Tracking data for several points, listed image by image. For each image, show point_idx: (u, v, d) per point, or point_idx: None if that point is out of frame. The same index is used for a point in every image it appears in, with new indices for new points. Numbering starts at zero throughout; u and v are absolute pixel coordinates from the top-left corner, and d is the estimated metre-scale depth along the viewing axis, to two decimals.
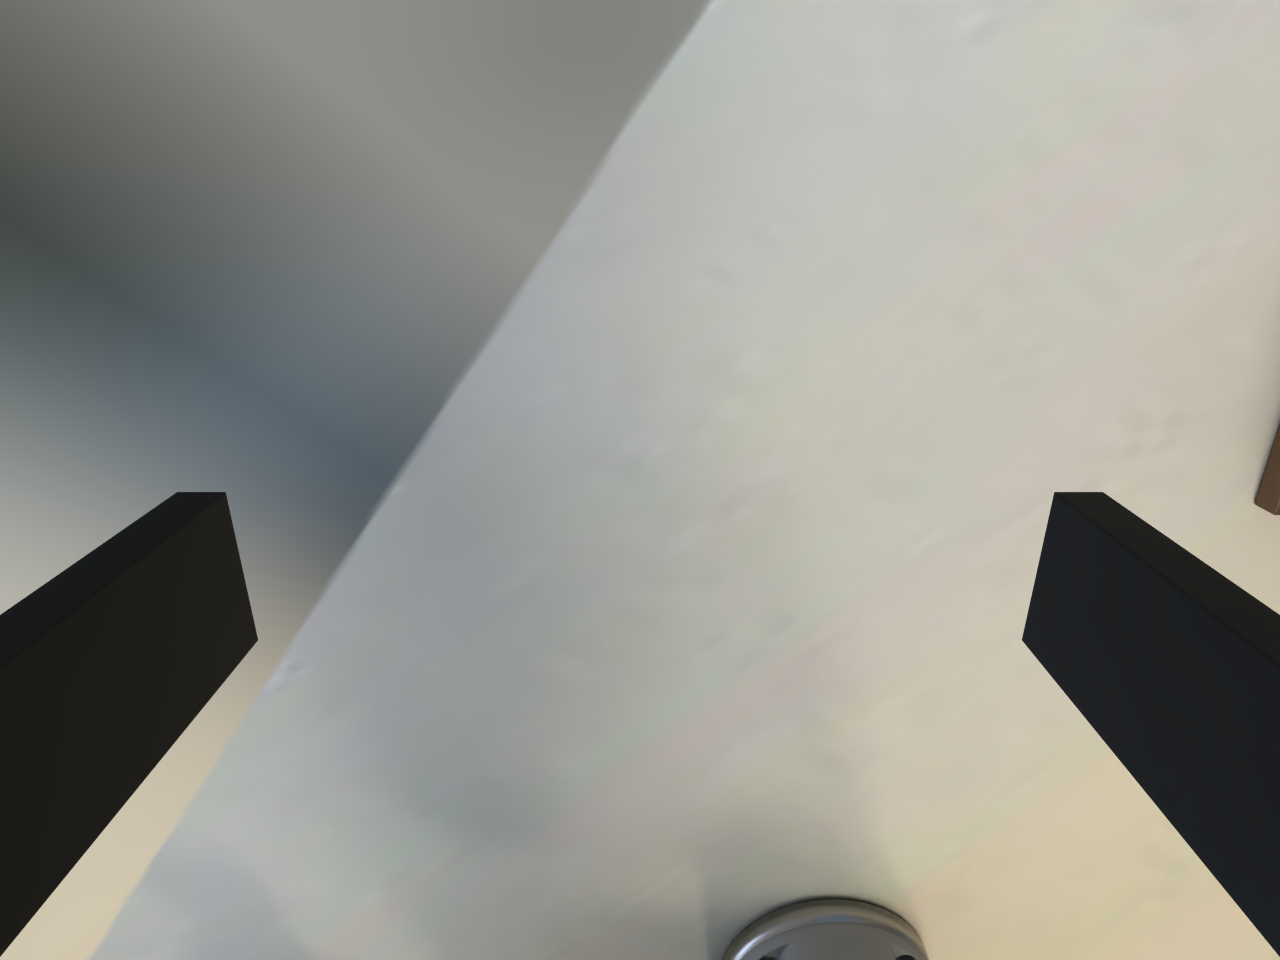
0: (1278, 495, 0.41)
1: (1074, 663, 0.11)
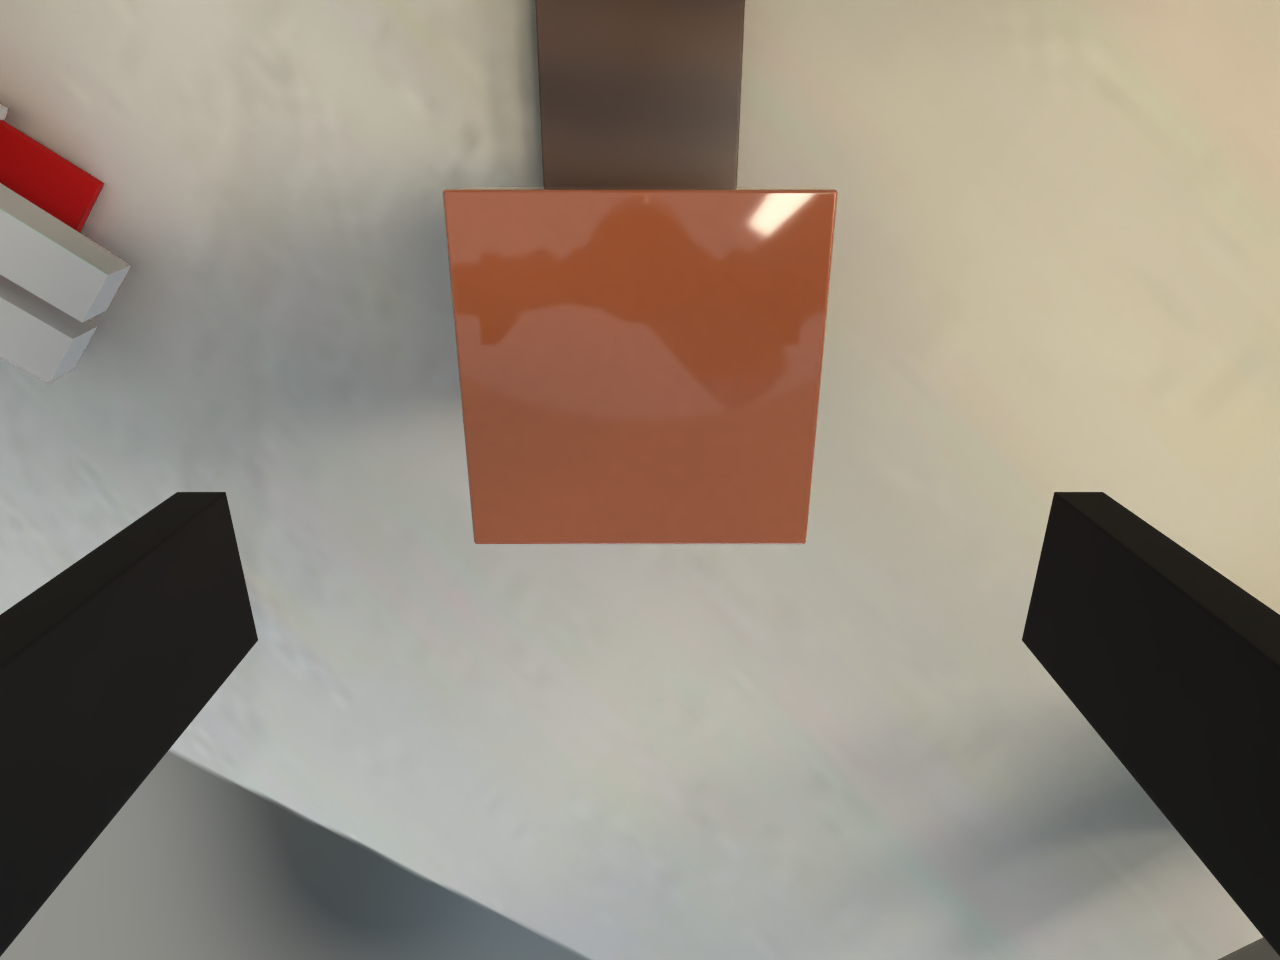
0: None
1: (1074, 663, 0.11)
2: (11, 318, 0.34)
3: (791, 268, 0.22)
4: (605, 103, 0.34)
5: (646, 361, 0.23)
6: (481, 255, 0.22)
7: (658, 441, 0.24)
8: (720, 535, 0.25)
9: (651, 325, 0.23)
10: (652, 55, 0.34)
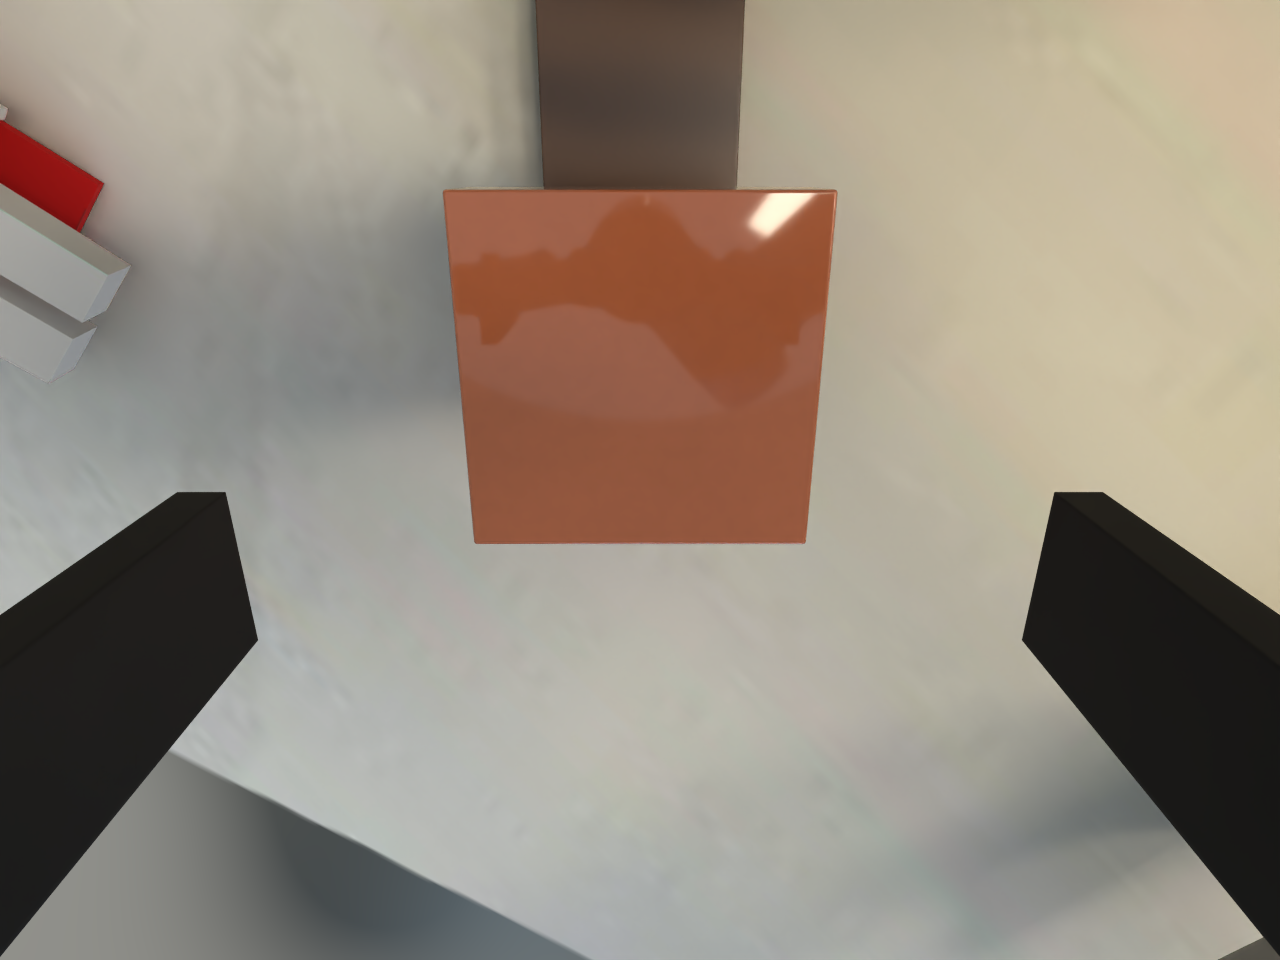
0: None
1: (1074, 663, 0.11)
2: (11, 318, 0.34)
3: (791, 268, 0.22)
4: (605, 103, 0.34)
5: (646, 361, 0.23)
6: (480, 255, 0.22)
7: (658, 441, 0.24)
8: (719, 535, 0.25)
9: (651, 325, 0.23)
10: (652, 55, 0.34)
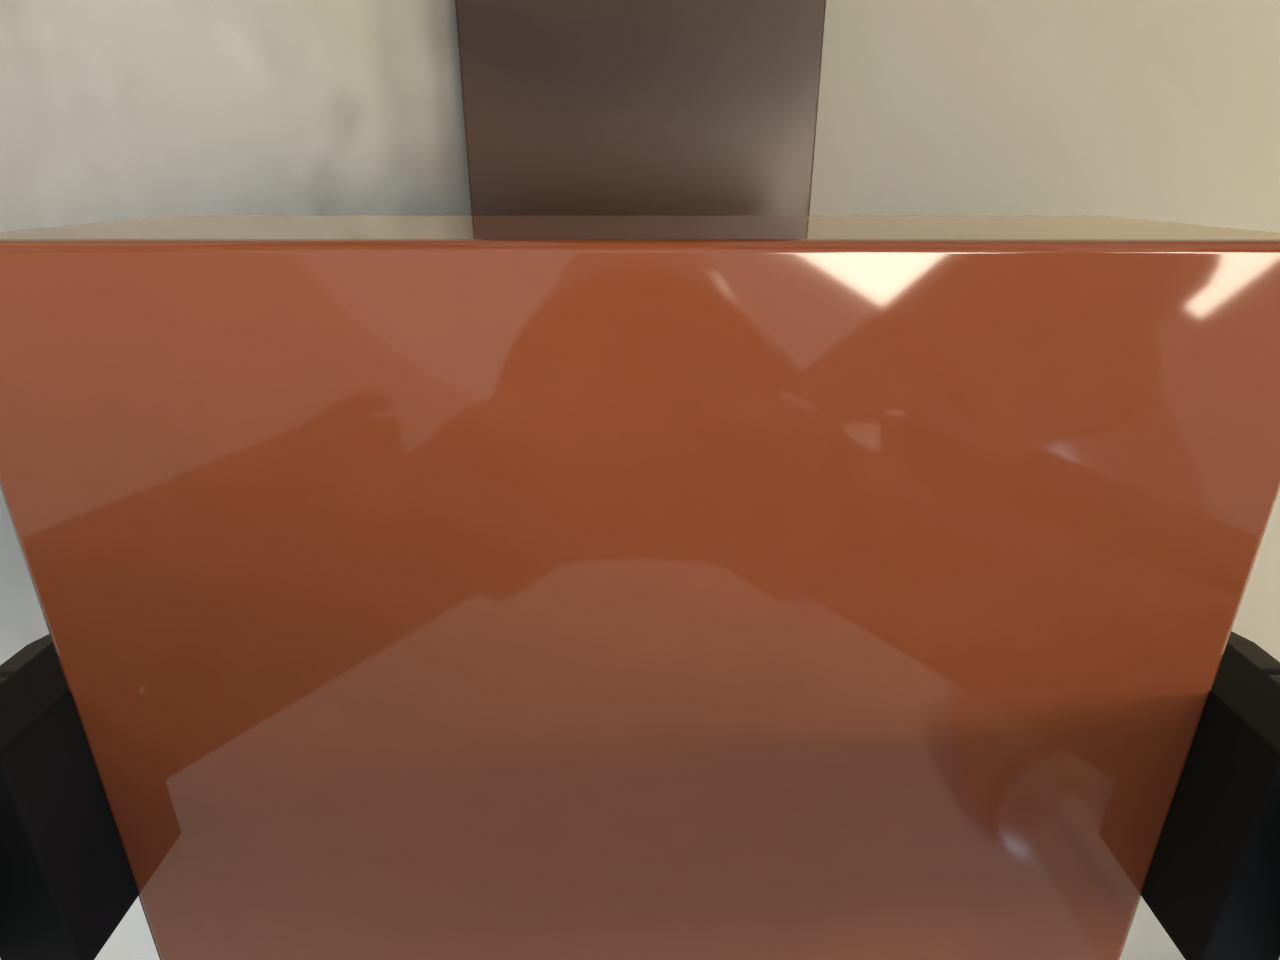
0: None
1: None
2: None
3: (1148, 500, 0.07)
4: (577, 49, 0.19)
5: (658, 749, 0.08)
6: (99, 459, 0.06)
7: (692, 931, 0.09)
8: None
9: (676, 659, 0.07)
10: None
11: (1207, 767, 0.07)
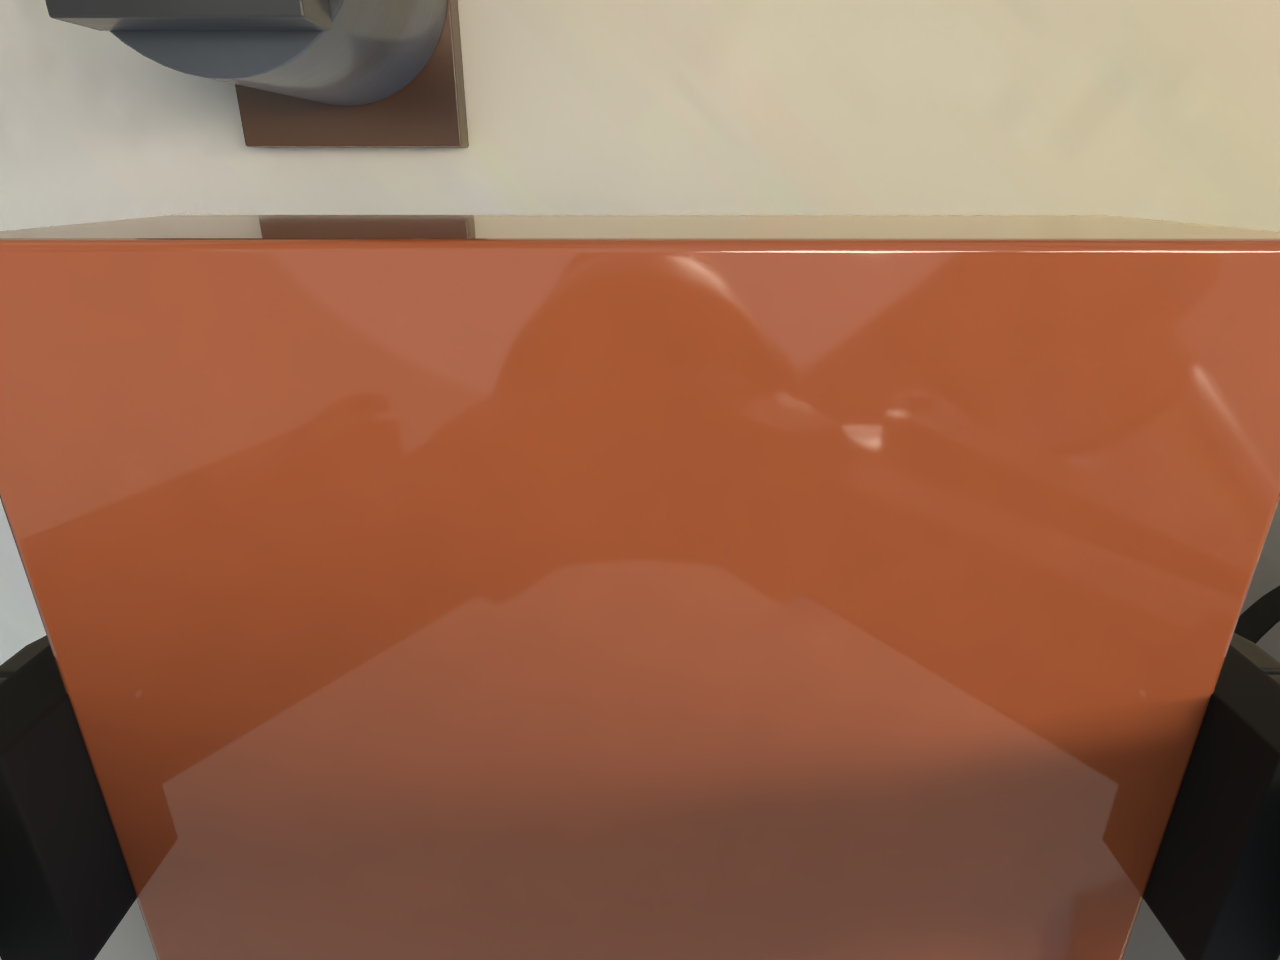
0: (435, 146, 0.32)
1: None
2: None
3: (1151, 502, 0.07)
4: None
5: (658, 752, 0.08)
6: (96, 460, 0.06)
7: (691, 933, 0.08)
8: None
9: (677, 659, 0.07)
10: None
11: (1207, 767, 0.07)
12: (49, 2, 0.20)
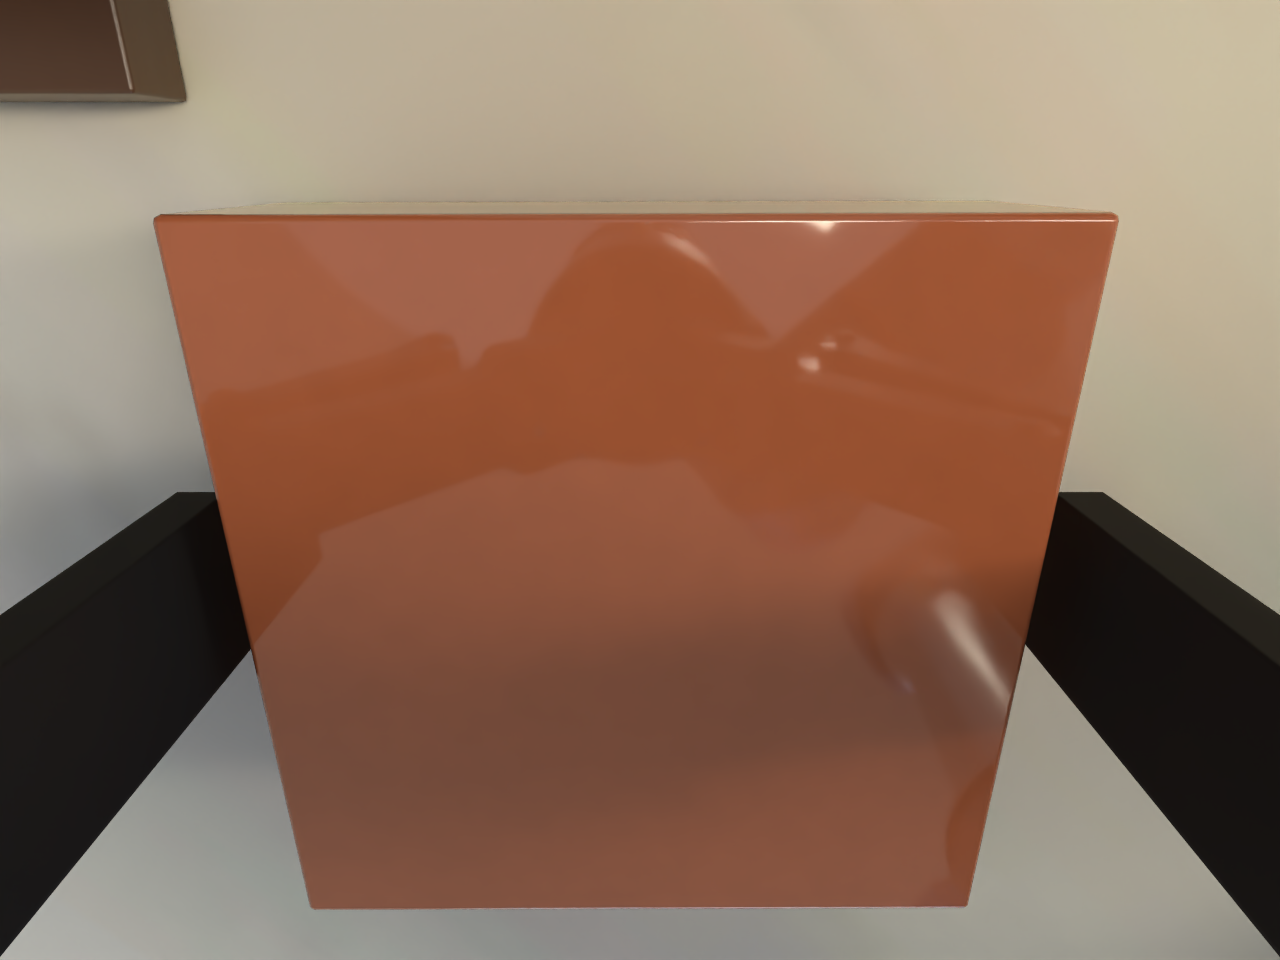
0: (65, 95, 0.12)
1: (1074, 663, 0.11)
2: None
3: (990, 396, 0.09)
4: None
5: (651, 588, 0.10)
6: (261, 368, 0.09)
7: (677, 736, 0.11)
8: (798, 895, 0.13)
9: (663, 516, 0.10)
10: None
11: None
12: None
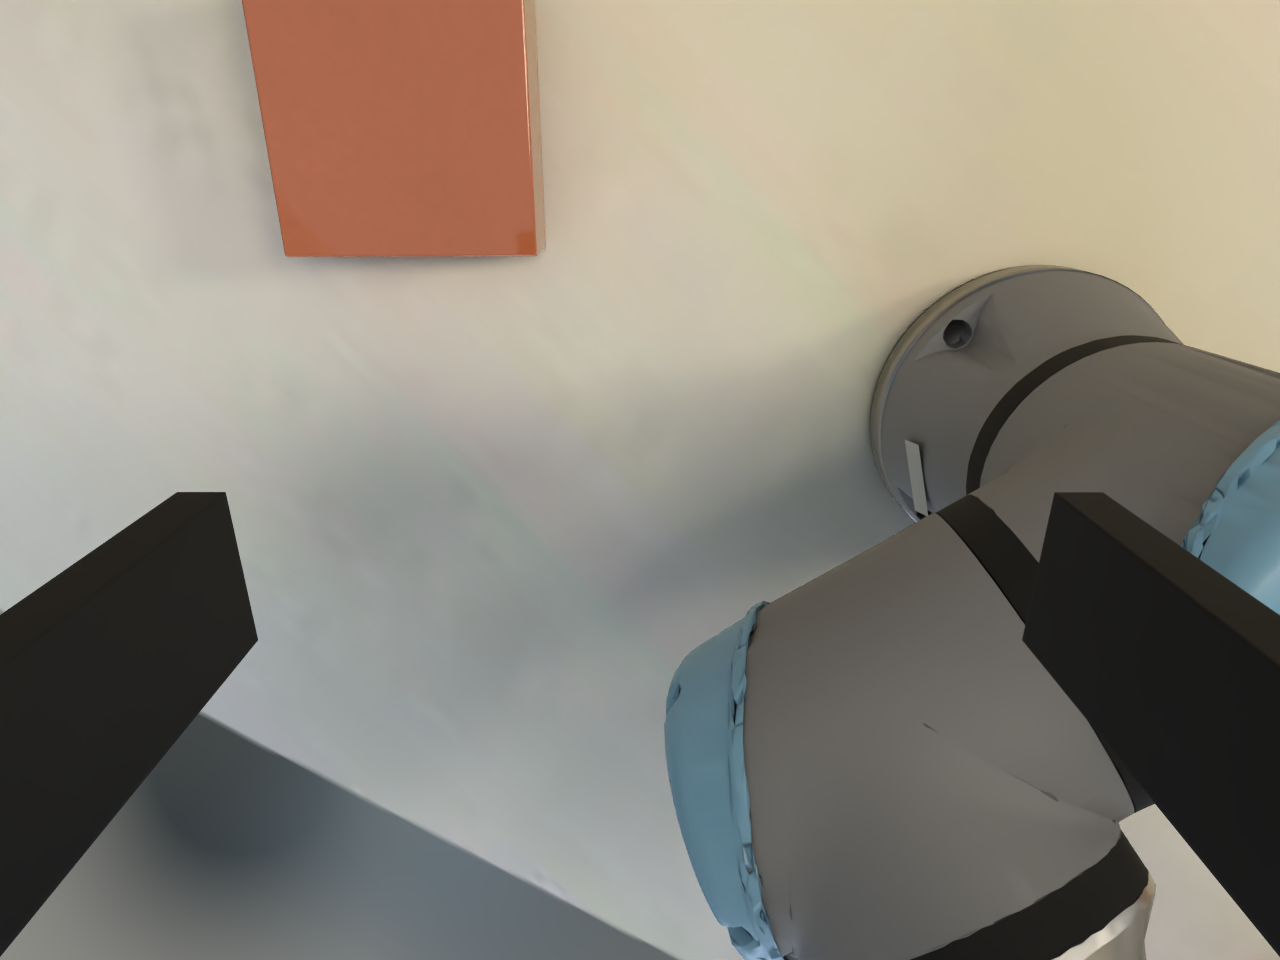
0: None
1: (1074, 663, 0.11)
2: None
3: (496, 22, 0.30)
4: None
5: (397, 99, 0.31)
6: (267, 12, 0.30)
7: (414, 166, 0.32)
8: (470, 248, 0.33)
9: (398, 68, 0.31)
10: None
11: None
12: None
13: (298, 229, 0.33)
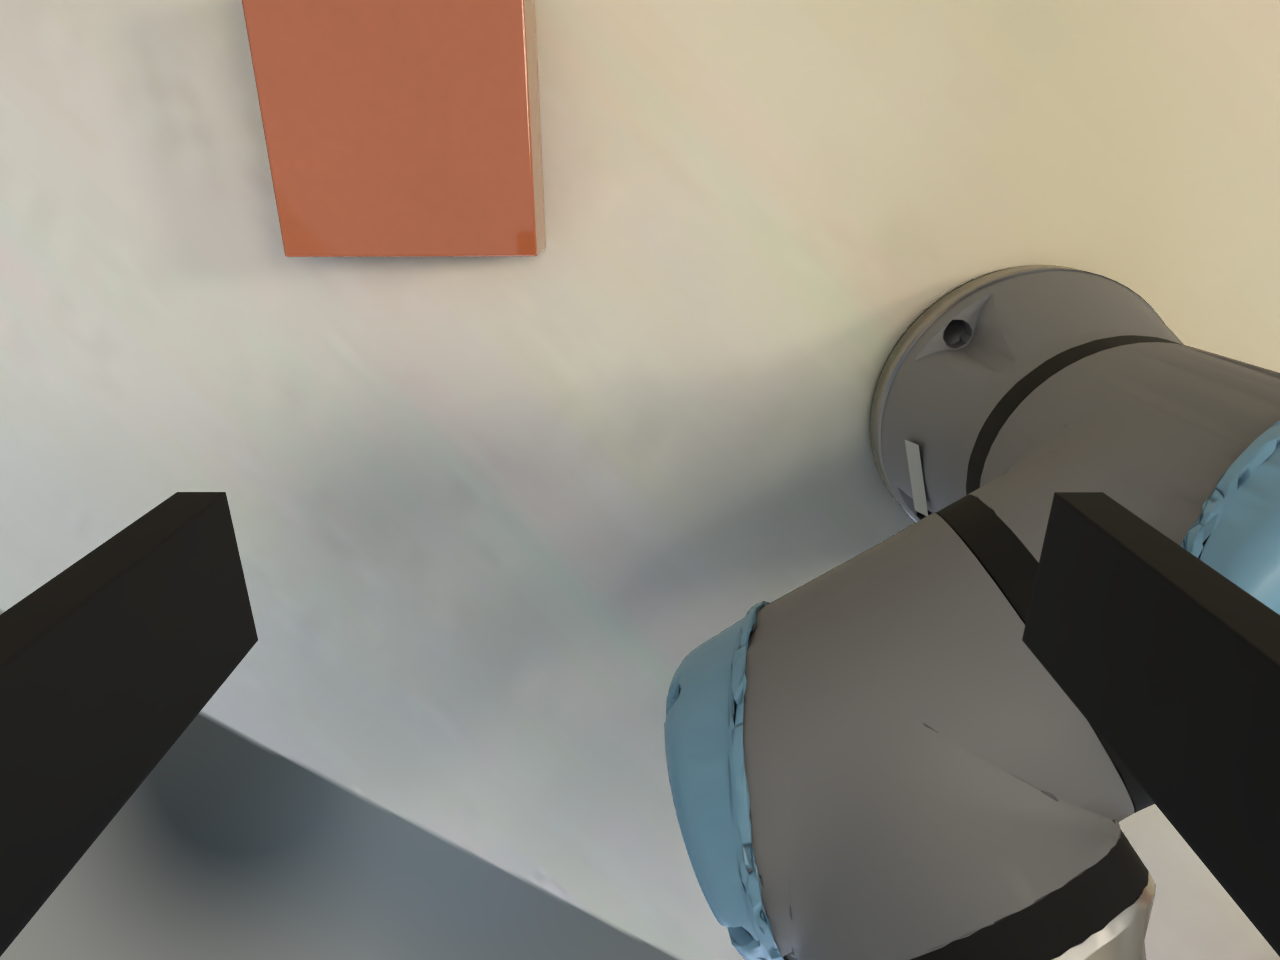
0: None
1: (1074, 663, 0.11)
2: None
3: (496, 22, 0.30)
4: None
5: (397, 99, 0.31)
6: (267, 12, 0.30)
7: (414, 166, 0.32)
8: (470, 248, 0.33)
9: (398, 69, 0.31)
10: None
11: None
12: None
13: (298, 229, 0.33)
